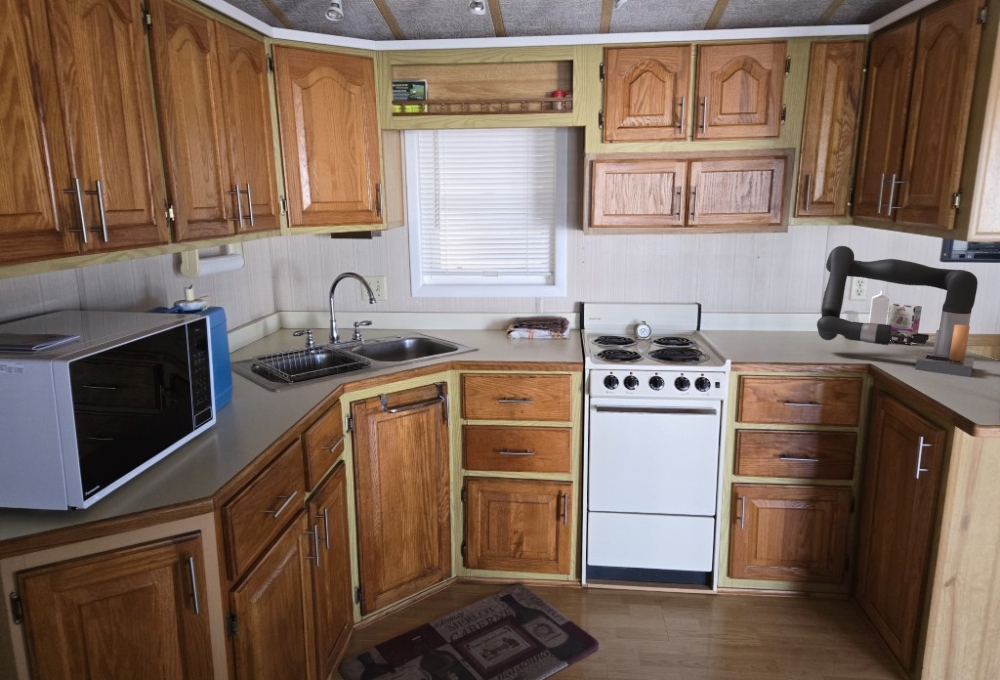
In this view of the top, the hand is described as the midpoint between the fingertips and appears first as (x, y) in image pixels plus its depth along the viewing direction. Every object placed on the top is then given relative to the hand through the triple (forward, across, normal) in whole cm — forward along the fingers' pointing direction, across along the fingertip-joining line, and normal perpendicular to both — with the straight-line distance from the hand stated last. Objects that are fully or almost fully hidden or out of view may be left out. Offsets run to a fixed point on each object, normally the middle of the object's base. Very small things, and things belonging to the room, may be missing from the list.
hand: (927, 339), depth 233 cm
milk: (-21, +41, +10) cm, 47 cm away
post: (+9, 0, +10) cm, 14 cm away
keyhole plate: (+6, 0, +10) cm, 12 cm away
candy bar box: (-12, +47, +10) cm, 50 cm away
